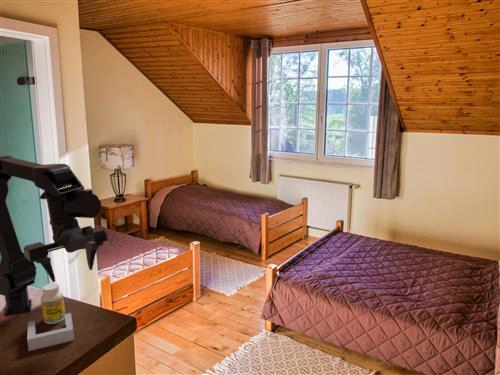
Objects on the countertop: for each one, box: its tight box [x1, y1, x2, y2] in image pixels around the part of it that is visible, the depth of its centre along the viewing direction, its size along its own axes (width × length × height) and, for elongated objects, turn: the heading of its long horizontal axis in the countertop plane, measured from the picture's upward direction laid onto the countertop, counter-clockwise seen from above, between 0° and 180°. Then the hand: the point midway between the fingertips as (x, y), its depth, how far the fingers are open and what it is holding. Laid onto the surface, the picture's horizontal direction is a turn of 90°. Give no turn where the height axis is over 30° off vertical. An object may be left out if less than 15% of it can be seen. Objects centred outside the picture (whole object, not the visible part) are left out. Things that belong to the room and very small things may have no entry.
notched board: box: [26, 312, 75, 352], centre depth 104 cm, size 8×10×3 cm
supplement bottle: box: [40, 282, 66, 325], centre depth 111 cm, size 5×5×10 cm
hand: (72, 275), depth 106 cm, fingers open, 9 cm apart
